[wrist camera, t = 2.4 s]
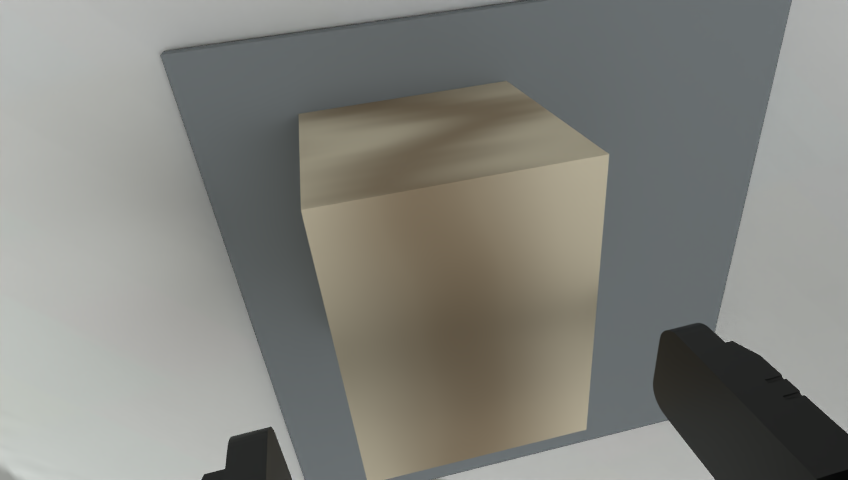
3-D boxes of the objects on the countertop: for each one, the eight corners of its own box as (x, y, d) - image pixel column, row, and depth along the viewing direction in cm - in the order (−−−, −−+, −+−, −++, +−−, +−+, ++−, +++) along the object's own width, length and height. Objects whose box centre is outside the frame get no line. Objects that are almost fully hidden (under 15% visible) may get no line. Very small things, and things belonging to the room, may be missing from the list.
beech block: (506, 80, 16) (609, 153, 11) (511, 300, 20) (586, 429, 15) (298, 113, 15) (300, 210, 10) (348, 335, 19) (368, 483, 14)
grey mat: (787, -37, 16) (800, -35, 16) (689, 405, 26) (695, 413, 26) (164, 51, 14) (160, 55, 13) (314, 498, 24) (314, 509, 23)
